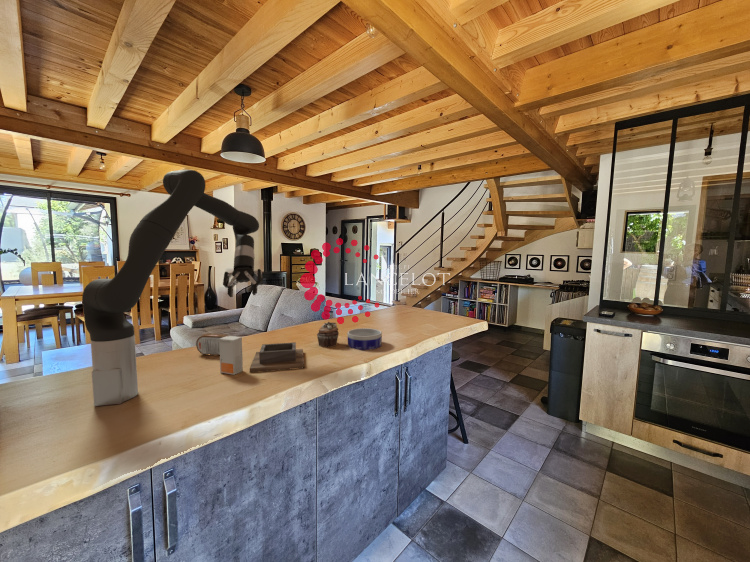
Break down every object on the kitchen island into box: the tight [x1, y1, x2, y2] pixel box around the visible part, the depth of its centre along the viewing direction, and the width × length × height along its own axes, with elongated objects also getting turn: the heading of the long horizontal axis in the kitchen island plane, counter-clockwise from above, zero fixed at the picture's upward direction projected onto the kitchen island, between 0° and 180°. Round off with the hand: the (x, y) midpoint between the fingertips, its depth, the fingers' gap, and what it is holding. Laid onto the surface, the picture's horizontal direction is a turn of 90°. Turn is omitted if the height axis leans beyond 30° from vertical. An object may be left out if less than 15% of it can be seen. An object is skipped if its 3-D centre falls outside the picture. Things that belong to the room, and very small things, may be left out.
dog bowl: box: [346, 327, 383, 351], centre depth 137 cm, size 15×15×6 cm
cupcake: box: [316, 321, 340, 348], centre depth 137 cm, size 10×10×10 cm
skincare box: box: [219, 335, 244, 376], centre depth 104 cm, size 6×4×12 cm
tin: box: [195, 333, 230, 356], centre depth 122 cm, size 15×3×8 cm, turn 84°
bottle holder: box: [249, 341, 305, 373], centre depth 115 cm, size 18×18×6 cm
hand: (242, 295), depth 118 cm, fingers open, 8 cm apart
